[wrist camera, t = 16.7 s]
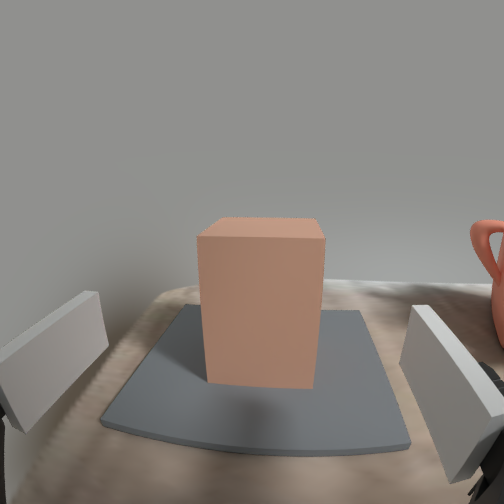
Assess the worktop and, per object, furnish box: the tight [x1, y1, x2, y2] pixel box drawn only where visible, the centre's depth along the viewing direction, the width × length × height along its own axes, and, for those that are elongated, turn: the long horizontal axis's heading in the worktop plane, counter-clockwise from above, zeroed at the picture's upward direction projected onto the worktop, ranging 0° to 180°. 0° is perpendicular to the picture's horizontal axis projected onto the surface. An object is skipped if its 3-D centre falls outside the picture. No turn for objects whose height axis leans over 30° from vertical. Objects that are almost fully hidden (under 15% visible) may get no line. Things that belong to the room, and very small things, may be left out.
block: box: [197, 217, 325, 389], centre depth 22 cm, size 7×7×10 cm
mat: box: [100, 304, 411, 456], centre depth 23 cm, size 18×18×1 cm
